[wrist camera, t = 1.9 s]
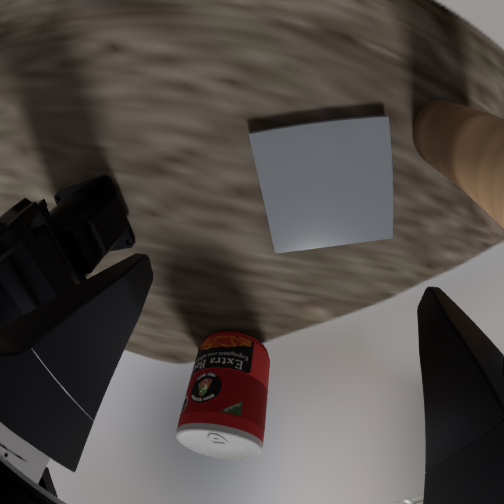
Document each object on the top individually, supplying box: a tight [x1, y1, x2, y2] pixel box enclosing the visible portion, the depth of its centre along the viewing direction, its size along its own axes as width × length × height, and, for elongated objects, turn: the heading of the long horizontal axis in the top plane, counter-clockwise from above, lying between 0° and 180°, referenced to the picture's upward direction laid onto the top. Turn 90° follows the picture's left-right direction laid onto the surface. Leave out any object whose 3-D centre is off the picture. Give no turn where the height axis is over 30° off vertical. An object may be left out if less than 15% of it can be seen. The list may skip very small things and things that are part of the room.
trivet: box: [249, 115, 393, 253], centre depth 20 cm, size 9×9×1 cm
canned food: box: [176, 331, 270, 459], centre depth 26 cm, size 8×8×11 cm
